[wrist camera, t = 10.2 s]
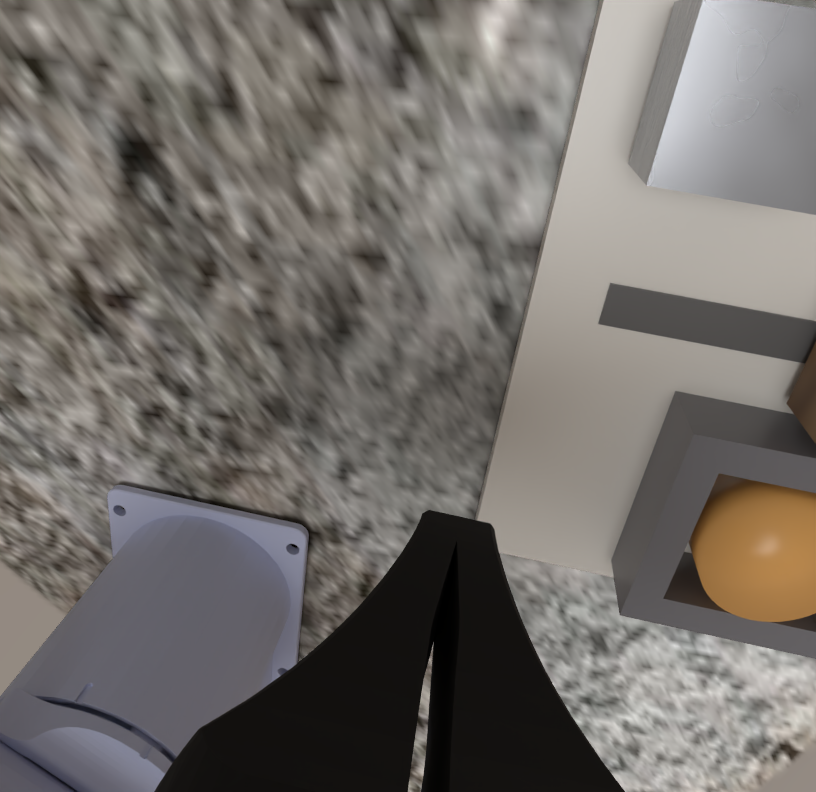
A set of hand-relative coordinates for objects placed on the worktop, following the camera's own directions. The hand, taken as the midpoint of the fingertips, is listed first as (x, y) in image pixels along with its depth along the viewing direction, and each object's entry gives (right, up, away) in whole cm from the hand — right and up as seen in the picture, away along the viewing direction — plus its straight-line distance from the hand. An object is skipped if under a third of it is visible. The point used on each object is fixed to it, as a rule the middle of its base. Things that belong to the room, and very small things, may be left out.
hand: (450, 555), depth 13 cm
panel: (+9, +5, +7) cm, 12 cm away
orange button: (+10, 0, +7) cm, 12 cm away
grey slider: (+7, +10, +2) cm, 12 cm away
